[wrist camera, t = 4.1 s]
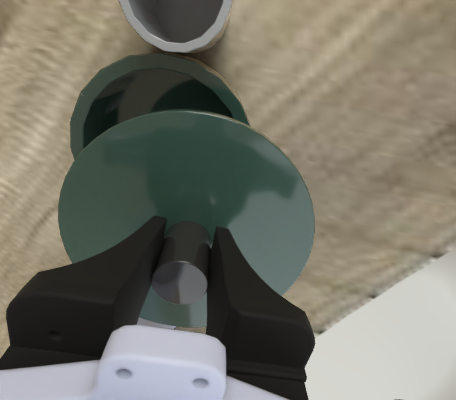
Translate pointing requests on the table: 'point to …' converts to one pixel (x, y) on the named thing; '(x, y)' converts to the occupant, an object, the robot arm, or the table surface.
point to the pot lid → (188, 204)
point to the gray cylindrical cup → (178, 22)
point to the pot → (149, 94)
